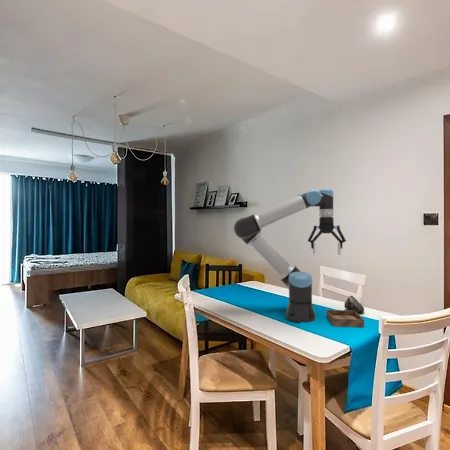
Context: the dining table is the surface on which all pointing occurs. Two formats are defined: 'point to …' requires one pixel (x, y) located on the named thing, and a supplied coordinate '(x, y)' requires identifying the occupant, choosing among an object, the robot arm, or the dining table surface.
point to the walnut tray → (345, 318)
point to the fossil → (353, 305)
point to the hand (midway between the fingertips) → (326, 254)
